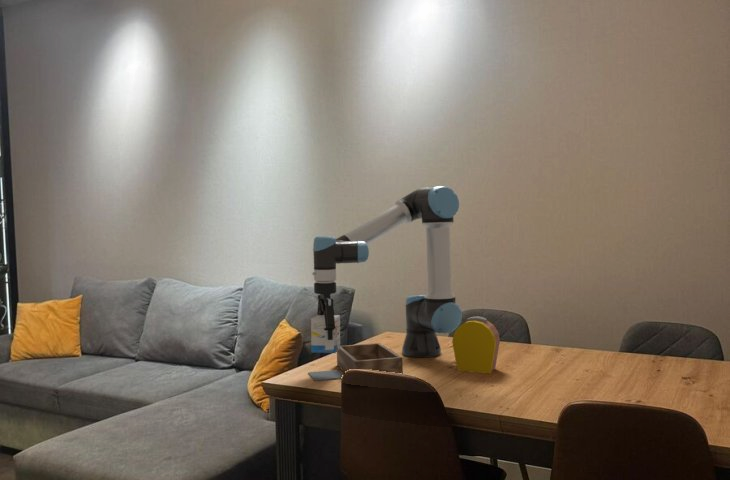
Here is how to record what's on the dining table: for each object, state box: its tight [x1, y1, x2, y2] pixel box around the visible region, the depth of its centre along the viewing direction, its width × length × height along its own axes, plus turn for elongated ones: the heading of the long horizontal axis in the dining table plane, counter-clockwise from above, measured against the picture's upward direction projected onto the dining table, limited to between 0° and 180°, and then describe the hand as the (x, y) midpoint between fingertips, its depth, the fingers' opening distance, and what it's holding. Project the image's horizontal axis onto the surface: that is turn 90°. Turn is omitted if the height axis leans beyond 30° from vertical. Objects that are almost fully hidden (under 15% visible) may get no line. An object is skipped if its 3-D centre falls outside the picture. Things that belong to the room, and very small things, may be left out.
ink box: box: [310, 314, 341, 354], centre depth 219 cm, size 9×8×12 cm
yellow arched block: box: [451, 315, 501, 374], centre depth 225 cm, size 15×8×18 cm, turn 65°
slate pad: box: [307, 369, 344, 382], centre depth 220 cm, size 11×11×1 cm
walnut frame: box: [336, 342, 404, 375], centre depth 225 cm, size 16×26×7 cm, turn 15°
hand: (326, 346), depth 220 cm, fingers closed on ink box, 11 cm apart
